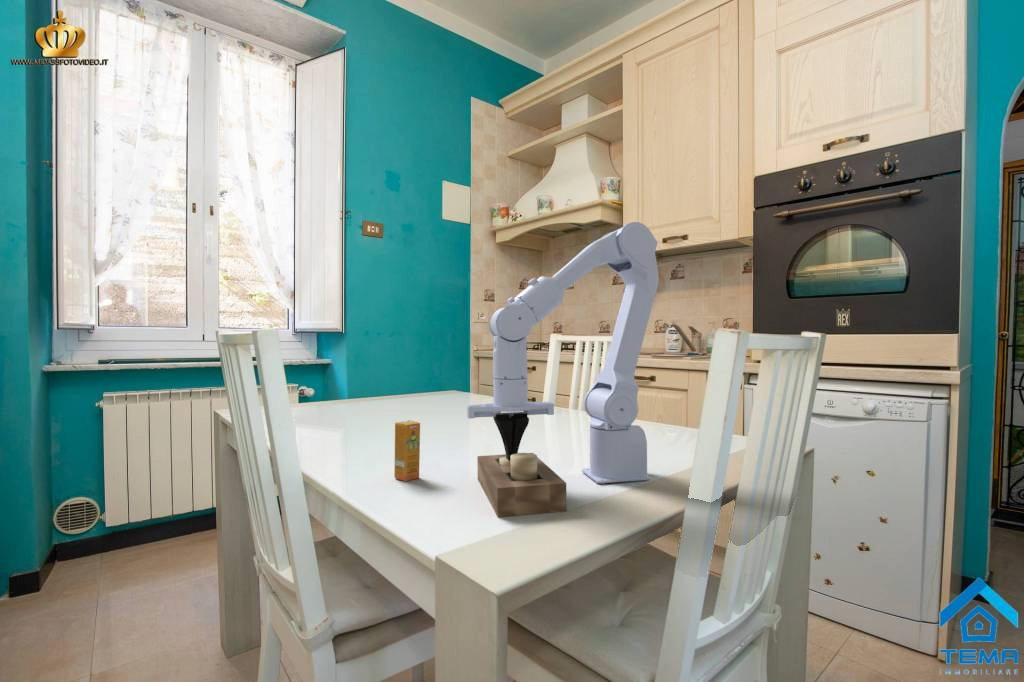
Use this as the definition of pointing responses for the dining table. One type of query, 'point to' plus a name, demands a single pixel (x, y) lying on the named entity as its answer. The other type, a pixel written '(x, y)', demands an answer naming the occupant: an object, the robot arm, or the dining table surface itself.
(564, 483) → the wooden peg hole block
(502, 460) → the peg
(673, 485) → the dining table surface
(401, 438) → the supplement box
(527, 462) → the peg
